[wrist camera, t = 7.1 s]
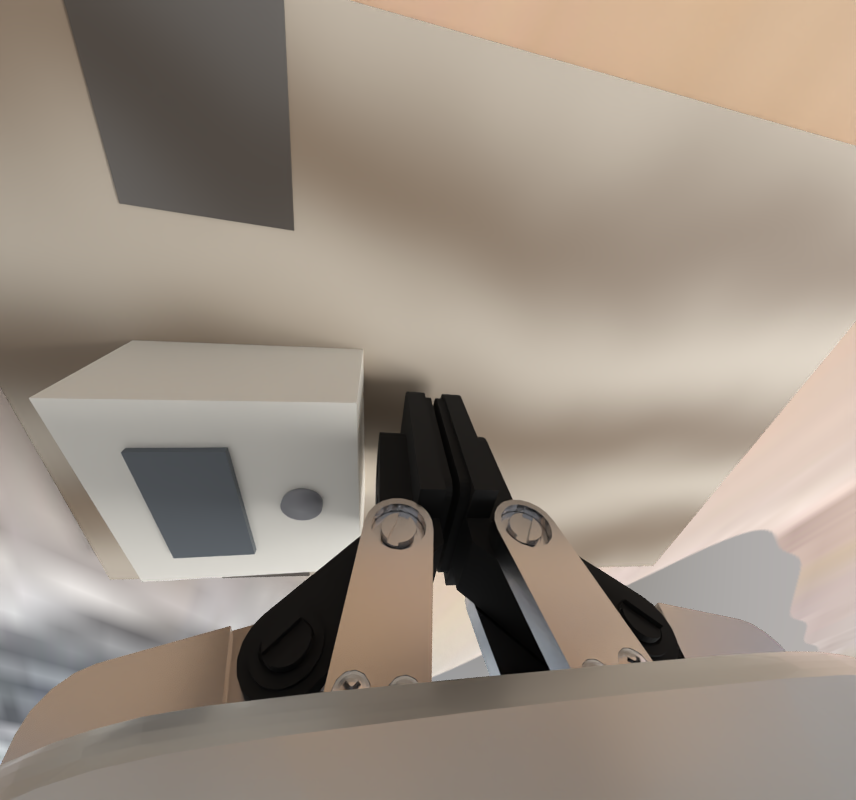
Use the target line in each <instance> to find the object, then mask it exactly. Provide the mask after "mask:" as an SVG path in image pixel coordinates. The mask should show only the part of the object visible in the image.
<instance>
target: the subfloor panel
mask: <svg viewBox="0 0 856 800" xmlns="http://www.w3.org/2000/svg"><path fill="white" fill-rule="evenodd" d="M855 322H856V146H855V145H851V144H848V143H844V142H841V141H837V140H834V139H830V138H827V137H823V136H820V135H816V134H813V133H810V132H806V131H803V130H799V129H796V128H792V127H789V126H785V125H782V124H778V123H775V122H771V121H768V120H764V119H761V118H757V117H754V116H750V115H747V114H743V113H740V112H737V111H733V110H730V109H726V108H723V107H719V106H716V105H712V104H709V103H705V102H702V101H698V100H695V99H691V98H688V97H684V96H681V95H677V94H674V93H670V92H667V91H664V90H660V89H657V88H653V87H650V86H646V85H643V84H639V83H636V82H632V81H629V80H625V79H622V78H618V77H615V76H611V75H608V74H604V73H601V72H597V71H594V70H590V69H587V68H584V67H580V66H577V65H573V64H570V63H566V62H563V61H559V60H556V59H552V58H549V57H545V56H542V55H538V54H535V53H531V52H528V51H524V50H521V49H517V48H514V47H511V46H507V45H504V44H500V43H497V42H493V41H490V40H486V39H483V38H479V37H476V36H472V35H469V34H465V33H462V32H458V31H455V30H451V29H448V28H444V27H441V26H438V25H434V24H431V23H427V22H424V21H420V20H417V19H413V18H410V17H406V16H403V15H399V14H396V13H392V12H389V11H385V10H382V9H378V8H375V7H371V6H368V5H365V4H361V3H358V2H354V1H351V0H0V387H1V389H2V391H3V393H4V394H5V396H6V398H7V400H8V401H9V403H10V405H11V407H12V408H13V410H14V412H15V414H16V415H17V417H18V419H19V421H20V422H21V424H22V426H23V428H24V429H25V431H26V433H27V435H28V436H29V438H30V440H31V442H32V443H33V445H34V447H35V449H36V450H37V452H38V454H39V456H40V457H41V459H42V461H43V463H44V465H45V466H46V468H47V470H48V472H49V473H50V475H51V477H52V479H53V480H54V482H55V484H56V486H57V487H58V489H59V491H60V493H61V494H62V496H63V498H64V500H65V501H66V503H67V505H68V507H69V508H70V510H71V512H72V514H73V515H74V517H75V519H76V521H77V522H78V524H79V526H80V528H81V529H82V531H83V533H84V535H85V536H86V538H87V540H88V542H89V543H90V545H91V547H92V549H93V550H94V552H95V554H96V556H97V557H98V559H99V561H100V563H101V564H102V566H103V568H104V570H105V571H106V573H107V575H108V577H109V579H110V580H114V579H140V578H139V576H138V574H137V573H136V571H135V569H134V568H133V566H132V565H131V563H130V561H129V560H128V558H127V557H126V555H125V553H124V552H123V550H122V548H121V547H120V545H119V544H118V542H117V540H116V539H115V537H114V535H113V534H112V532H111V531H110V529H109V527H108V526H107V524H106V523H105V521H104V519H103V518H102V516H101V514H100V513H99V511H98V510H97V508H96V506H95V505H94V503H93V501H92V500H91V498H90V497H89V495H88V493H87V492H86V490H85V489H84V487H83V485H82V484H81V482H80V480H79V479H78V477H77V476H76V474H75V472H74V471H73V469H72V467H71V466H70V464H69V463H68V461H67V459H66V458H65V456H64V455H63V453H62V451H61V450H60V448H59V446H58V445H57V443H56V442H55V440H54V438H53V437H52V435H51V433H50V432H49V430H48V429H47V427H46V425H45V424H44V422H43V421H42V419H41V417H40V416H39V414H38V412H37V411H36V409H35V408H34V406H33V404H32V403H31V401H30V399H29V398H30V397H31V396H33V395H35V394H37V393H39V392H40V391H42V390H44V389H46V388H48V387H49V386H51V385H53V384H55V383H57V382H58V381H60V380H62V379H64V378H66V377H67V376H69V375H71V374H73V373H75V372H76V371H78V370H80V369H82V368H84V367H85V366H87V365H89V364H91V363H93V362H94V361H96V360H98V359H100V358H102V357H103V356H105V355H107V354H109V353H111V352H112V351H114V350H116V349H118V348H120V347H121V346H123V345H125V344H127V343H129V342H130V341H132V340H139V341H165V342H191V343H216V344H242V345H268V346H293V347H319V348H345V349H363V370H364V468H365V499H364V517H363V524H364V520H365V518H366V516H367V514H368V512H369V511H370V510H371V509H372V508H373V507H374V505H375V497H376V466H377V452H378V441H379V433H380V432H387V433H400V432H401V424H402V417H403V409H404V401H405V395H406V392H421V393H425V397H427V398H431V400H432V404H434V400H435V398H441V395H442V394H450V395H460V396H461V398H462V400H463V403H464V405H465V408H466V410H467V413H468V415H469V417H470V420H471V422H472V425H473V427H474V430H475V432H476V434H477V437H484V438H485V439H486V441H487V442H488V445H489V447H490V449H491V451H492V454H493V456H494V458H495V460H496V463H497V465H498V467H499V469H500V472H501V474H502V476H503V478H504V481H505V483H506V485H507V487H508V490H509V492H510V494H511V497H512V499H513V500H523V501H526V502H530V503H532V504H534V505H536V506H538V507H539V508H541V509H542V510H544V511H545V512H546V513H547V514H548V515H549V516H550V517H551V518H552V519H553V521H554V522H555V523H556V525H557V526H558V528H559V529H560V530H561V532H562V533H563V535H564V536H565V538H566V539H567V540H568V542H569V543H570V545H571V546H572V547H573V549H574V550H575V552H576V553H577V554H578V556H579V557H581V558H583V559H584V560H586V561H587V562H589V563H590V564H592V565H594V566H595V567H628V566H654V564H655V563H656V562H657V561H658V560H659V558H660V557H661V556H662V555H663V553H664V552H665V551H666V550H667V549H668V547H669V546H670V545H671V544H672V543H673V541H674V540H675V539H676V538H677V537H678V535H679V534H680V533H681V532H682V531H683V529H684V528H685V527H686V526H687V525H688V523H689V522H690V521H691V520H692V518H693V517H694V516H695V515H696V514H697V512H698V511H699V510H700V509H701V508H702V506H703V505H704V504H705V503H706V502H707V500H708V499H709V498H710V497H711V496H712V494H713V493H714V492H715V491H716V490H717V488H718V487H719V486H720V485H721V484H722V482H723V481H724V480H725V479H726V477H727V476H728V475H729V474H730V473H731V471H732V470H733V469H734V468H735V467H736V465H737V464H738V463H739V462H740V461H741V459H742V458H743V457H744V456H745V455H746V453H747V452H748V451H749V450H750V449H751V447H752V446H753V445H754V444H755V442H756V441H757V440H758V439H759V438H760V436H761V435H762V434H763V433H764V432H765V430H766V429H767V428H768V427H769V426H770V424H771V423H772V422H773V421H774V420H775V418H776V417H777V416H778V415H779V414H780V412H781V411H782V410H783V409H784V407H785V406H786V405H787V404H788V403H789V401H790V400H791V399H792V398H793V397H794V395H795V394H796V393H797V392H798V391H799V389H800V388H801V387H802V386H803V385H804V383H805V382H806V381H807V380H808V379H809V377H810V376H811V375H812V374H813V373H814V371H815V370H816V369H817V368H818V366H819V365H820V364H821V363H822V362H823V360H824V359H825V358H826V357H827V356H828V354H829V353H830V352H831V351H832V350H833V348H834V347H835V346H836V345H837V344H838V342H839V341H840V340H841V339H842V338H843V336H844V335H845V334H846V333H847V331H848V330H849V329H850V328H851V327H852V325H853V324H854V323H855ZM436 571H437V570H436ZM314 573H315V572H300V573H284V574H267V575H251V576H234V577H222V578H237V577H276V576H309V575H312V574H314Z"/></svg>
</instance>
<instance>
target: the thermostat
mask: <svg viewBox="0 0 856 800" xmlns="http://www.w3.org/2000/svg"><path fill="white" fill-rule="evenodd" d="M29 399H30V401H31V403H32V404H33V406H34V408H35V409H36V411H37V412H38V414H39V416H40V417H41V419H42V421H43V422H44V424H45V425H46V427H47V429H48V430H49V432H50V433H51V435H52V437H53V438H54V440H55V442H56V443H57V445H58V446H59V448H60V450H61V451H62V453H63V455H64V456H65V458H66V459H67V461H68V463H69V464H70V466H71V467H72V469H73V471H74V472H75V474H76V476H77V477H78V479H79V480H80V482H81V484H82V485H83V487H84V489H85V490H86V492H87V493H88V495H89V497H90V498H91V500H92V501H93V503H94V505H95V506H96V508H97V510H98V511H99V513H100V514H101V516H102V518H103V519H104V521H105V523H106V524H107V526H108V527H109V529H110V531H111V532H112V534H113V535H114V537H115V539H116V540H117V542H118V544H119V545H120V547H121V548H122V550H123V552H124V553H125V555H126V557H127V558H128V560H129V561H130V563H131V565H132V566H133V568H134V569H135V571H136V573H137V574H138V576H139V578H140V579H141V581H142V582H151V581H168V580H184V579H201V578H217V577H234V576H251V575H267V574H284V573H300V572H317V571H318V570H319V569H320V568H321V567H323V566H324V565H325V564H326V563H328V562H329V561H330V560H331V559H332V558H334V557H335V556H336V555H337V554H339V553H340V552H341V551H342V550H343V549H345V548H346V547H347V546H348V545H350V544H351V543H352V542H353V541H354V540H356V539H357V538H358V537H359V536H361V533H362V528H363V517H364V499H365V468H364V370H363V349H345V348H319V347H293V346H268V345H242V344H216V343H191V342H165V341H139V340H132V341H130V342H129V343H127V344H125V345H123V346H121V347H120V348H118V349H116V350H114V351H112V352H111V353H109V354H107V355H105V356H103V357H102V358H100V359H98V360H96V361H94V362H93V363H91V364H89V365H87V366H85V367H84V368H82V369H80V370H78V371H76V372H75V373H73V374H71V375H69V376H67V377H66V378H64V379H62V380H60V381H58V382H57V383H55V384H53V385H51V386H49V387H48V388H46V389H44V390H42V391H40V392H39V393H37V394H35V395H33V396H31V397H30V398H29Z"/></svg>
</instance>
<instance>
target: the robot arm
mask: <svg viewBox="0 0 856 800" xmlns="http://www.w3.org/2000/svg"><path fill="white" fill-rule="evenodd" d="M436 570H437V571H438V572H444V577H445V583H446V585H456V588H457V590H458V591H459V592H460V593H462V594H463V595H464V596H465V604H466V609H467V612H468V615H469V618H470V621H471V623H472V626H473V629H474V632H475V635H476V638H477V641H478V643H479V646H480V649H481V652H482V655H483V658H484V660H485V664H486V666H487V669H488V672H489V675H490V676H486V677H476V678H465V679H456V680H445V681H435V682H431V678H432V604H433V581H434V577H435V574H436ZM0 800H856V658H855V657H850V656H846V655H840V654H832V653H824V652H786V651H785V650H784V649H783V648H782V647H781V645H780V644H779V643H778V642H776V641H775V640H774V639H773V638H772V637H771V636H769V635H768V634H767V633H766V632H764V631H763V630H761V629H759V628H758V627H756V626H755V625H753V624H751V623H748V622H745V621H743V620H740V619H735V618H731V617H726V616H721V615H716V614H711V613H706V612H702V611H696V610H692V609H687V608H682V607H677V606H672V605H667V604H662V603H657V605H656V606H654V605H653V604H651V603H650V602H649V601H647V600H646V599H645V598H643V597H642V596H641V595H639V594H638V593H636V592H634V591H633V590H631V589H630V588H628V587H627V586H625V585H623V584H622V583H620V582H619V581H617V580H616V579H614V578H612V577H611V576H609V575H608V574H606V573H605V572H603V571H601V570H600V569H598V568H597V567H595V566H594V565H592V564H590V563H589V562H587V561H586V560H584V559H583V558H581V557H579V556H578V554H577V553H576V552H575V550H574V549H573V547H572V546H571V545H570V543H569V542H568V540H567V539H566V538H565V536H564V535H563V533H562V532H561V530H560V529H559V528H558V526H557V525H556V523H555V522H554V521H553V519H552V518H551V517H550V516H549V515H548V514H547V513H546V512H545V511H544V510H542V509H541V508H539V507H538V506H536V505H534V504H532V503H530V502H526V501H523V500H513V499H512V497H511V494H510V492H509V490H508V487H507V485H506V483H505V481H504V478H503V476H502V474H501V472H500V469H499V467H498V465H497V463H496V460H495V458H494V456H493V454H492V451H491V449H490V447H489V445H488V442H487V441H486V439H485V438H484V437H477V434H476V432H475V430H474V427H473V425H472V422H471V420H470V417H469V415H468V413H467V410H466V408H465V405H464V403H463V400H462V398H461V396H460V395H450V394H442V395H441V398H435V400H434V404H432V400H431V398H427V397H425V393H421V392H406V395H405V401H404V409H403V417H402V424H401V432H400V433H387V432H380V433H379V441H378V452H377V466H376V497H375V505H374V507H373V508H372V509H371V510H370V511H369V512H368V514H367V516H366V518H365V520H364V524H363V528H362V533H361V536H359V537H358V538H357V539H356V540H354V541H353V542H352V543H351V544H350V545H348V546H347V547H346V548H345V549H343V550H342V551H341V552H340V553H339V554H337V555H336V556H335V557H334V558H332V559H331V560H330V561H329V562H328V563H326V564H325V565H324V566H323V567H321V568H320V569H319V570H318V571H317V572H315V573H314V574H313V575H312V576H310V577H309V578H308V579H307V580H305V581H304V582H303V583H302V584H301V585H299V586H298V587H297V588H296V589H294V590H293V591H292V592H291V593H290V594H288V595H287V596H286V597H285V598H283V599H282V600H281V601H280V602H279V603H277V604H276V605H275V606H274V607H272V608H271V609H270V610H269V611H268V612H266V613H265V614H264V615H263V616H262V617H261V618H260V619H259V620H258V621H257V622H256V623H255V624H254V625H251V626H248V627H244V628H241V629H237V630H234V631H232V629H231V626H229V627H225V628H222V629H218V630H215V631H211V632H208V633H204V634H200V635H197V636H193V637H190V638H186V639H183V640H179V641H176V642H172V643H168V644H165V645H161V646H158V647H154V648H151V649H147V650H143V651H140V652H136V653H133V654H129V655H126V656H122V657H118V658H115V659H111V660H108V661H104V662H101V663H97V664H95V665H92V666H90V667H88V668H85V669H83V670H81V671H78V672H76V673H74V674H73V675H71V676H70V677H68V678H67V679H65V680H64V681H63V682H61V683H60V684H58V685H57V686H55V687H54V688H53V689H51V690H50V691H49V692H48V693H47V694H46V695H45V696H44V697H43V698H42V699H41V700H40V702H39V703H38V704H37V705H36V706H35V707H34V708H33V709H32V710H31V711H30V712H29V714H28V715H27V717H26V719H25V720H24V722H23V723H22V725H21V726H20V728H19V729H18V731H17V732H16V734H15V736H14V738H13V740H12V742H11V744H10V746H9V748H8V750H7V753H6V755H5V757H4V759H3V761H2V763H1V765H0Z"/></svg>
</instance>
